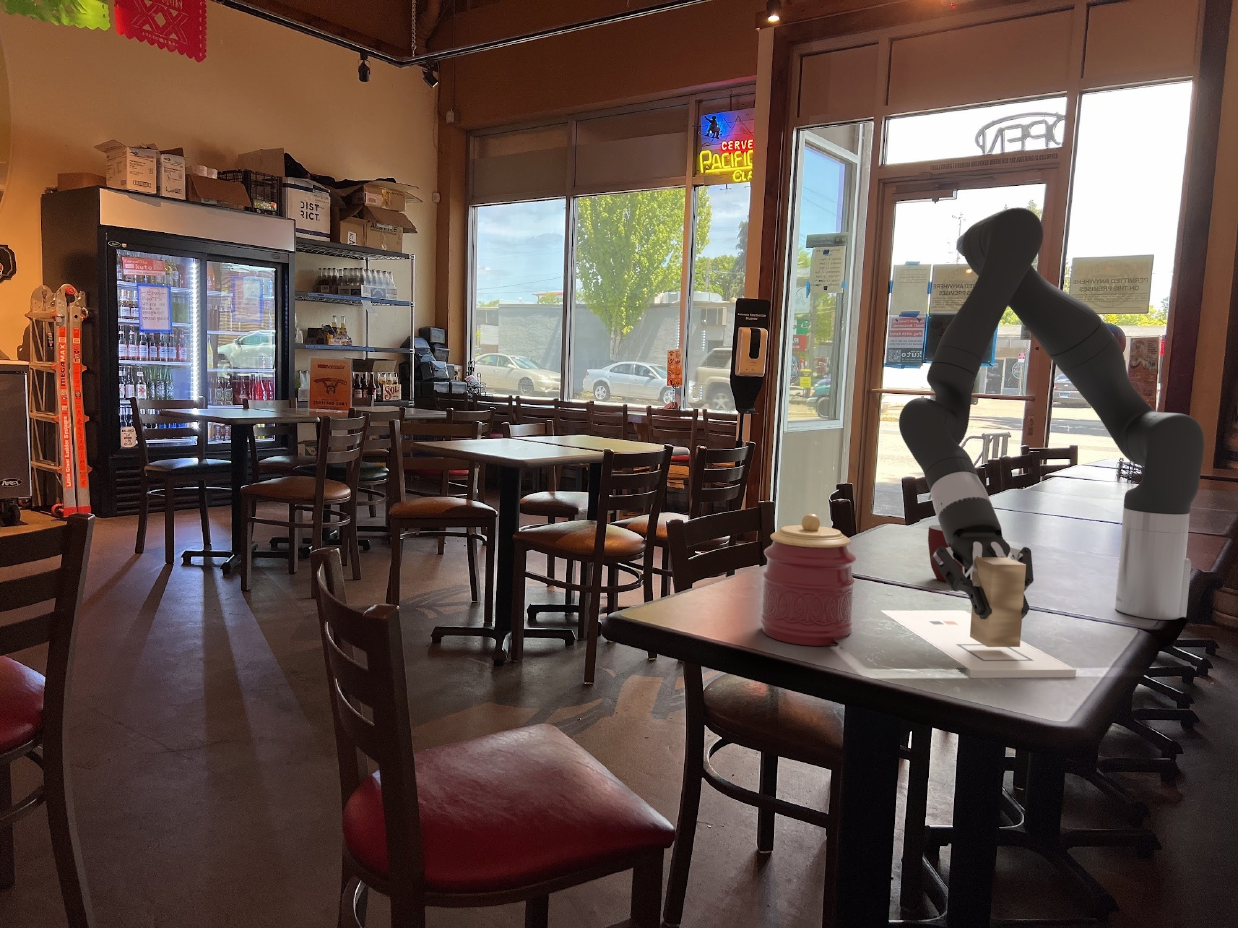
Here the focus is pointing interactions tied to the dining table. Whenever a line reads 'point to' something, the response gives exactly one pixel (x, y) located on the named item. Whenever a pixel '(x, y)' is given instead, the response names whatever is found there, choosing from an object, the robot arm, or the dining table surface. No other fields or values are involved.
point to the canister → (808, 585)
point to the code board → (978, 647)
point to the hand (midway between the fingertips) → (1004, 615)
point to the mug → (934, 542)
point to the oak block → (1000, 602)
